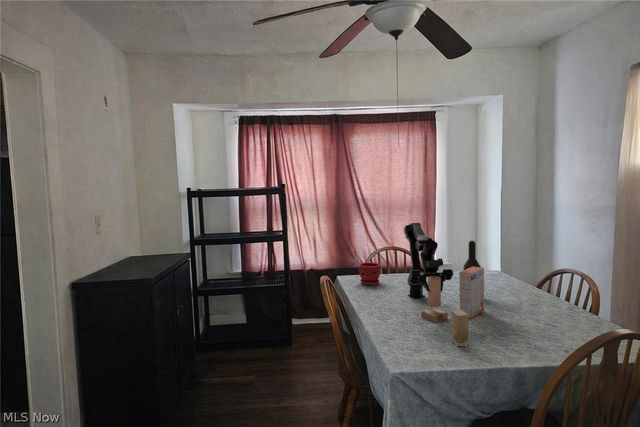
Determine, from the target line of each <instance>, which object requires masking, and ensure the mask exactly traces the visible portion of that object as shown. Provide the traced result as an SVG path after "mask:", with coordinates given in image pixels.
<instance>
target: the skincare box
mask: <svg viewBox="0 0 640 427" xmlns="http://www.w3.org/2000/svg"><path fill="white" fill-rule="evenodd" d="M469 319H470V318H469V315H468V314H466V313H465V312H464V311H462V310H460V309H453V310H452V309H451V310H450V341H451V342H452V343H453V344H454V345H455V346H456V345H457V346H465V347H467V346H466V345H468V346H469V323H470V322H469ZM457 346H456V347H457Z"/></svg>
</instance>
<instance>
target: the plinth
mask: <svg viewBox="0 0 640 427" xmlns="http://www.w3.org/2000/svg"><path fill="white" fill-rule="evenodd" d="M448 314H449V312H446V311H444V310H441V309H438V308H436V307H432V308H429V309H426V310H422V311H421V318H422V319H424V320H427V321H430V322H432V323H439V322H442V321H446V320H449V318H448V317H449V316H448Z"/></svg>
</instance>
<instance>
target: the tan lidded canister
mask: <svg viewBox="0 0 640 427" xmlns="http://www.w3.org/2000/svg"><path fill="white" fill-rule="evenodd" d="M427 284H428V287H429V292H427V306H429V307H432V308H439V307H441V305H442V302H441V301H442V298H441V297H442V296H441V294H442V292H441V278H440V277H439V276H435V275H432V276H429V277H427Z"/></svg>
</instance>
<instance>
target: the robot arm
mask: <svg viewBox="0 0 640 427" xmlns="http://www.w3.org/2000/svg"><path fill="white" fill-rule="evenodd" d="M403 232H404V234H405V238H406V240H407V242H409V243H408V244H409V252H410V264H411V268H410V271H409V273H408V274H409V275H408V277H407V285H408V286H409V294H408V295H407V297H410V298H413V299H421V298H424V297H426V295H424V294H423V292H424V289H425V291H426V292H427V293H428V292H429V287H428V277H429V276H432V275H435V276H439V277H440V278H441V293H442V292H443V288H444V283H445V282H446V281H451V280H452V278H453V277H454V274H455V273H454V271H453V269H452V268H443V270H442V272H440V271H439V268H440V267H442V266H444V261H443V258H442V257H441V258H437V259H435V258H434V256H435V255H436V252H437V249H438V243H437V241H435V240H434V239H433V238H432V237H429V236H426V234H425V232H424V230H423V228H422V224H421V222H411V223H410V224H407V225H405V226H404V228H403ZM420 259H421V260H420ZM421 264H422V266H421Z"/></svg>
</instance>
